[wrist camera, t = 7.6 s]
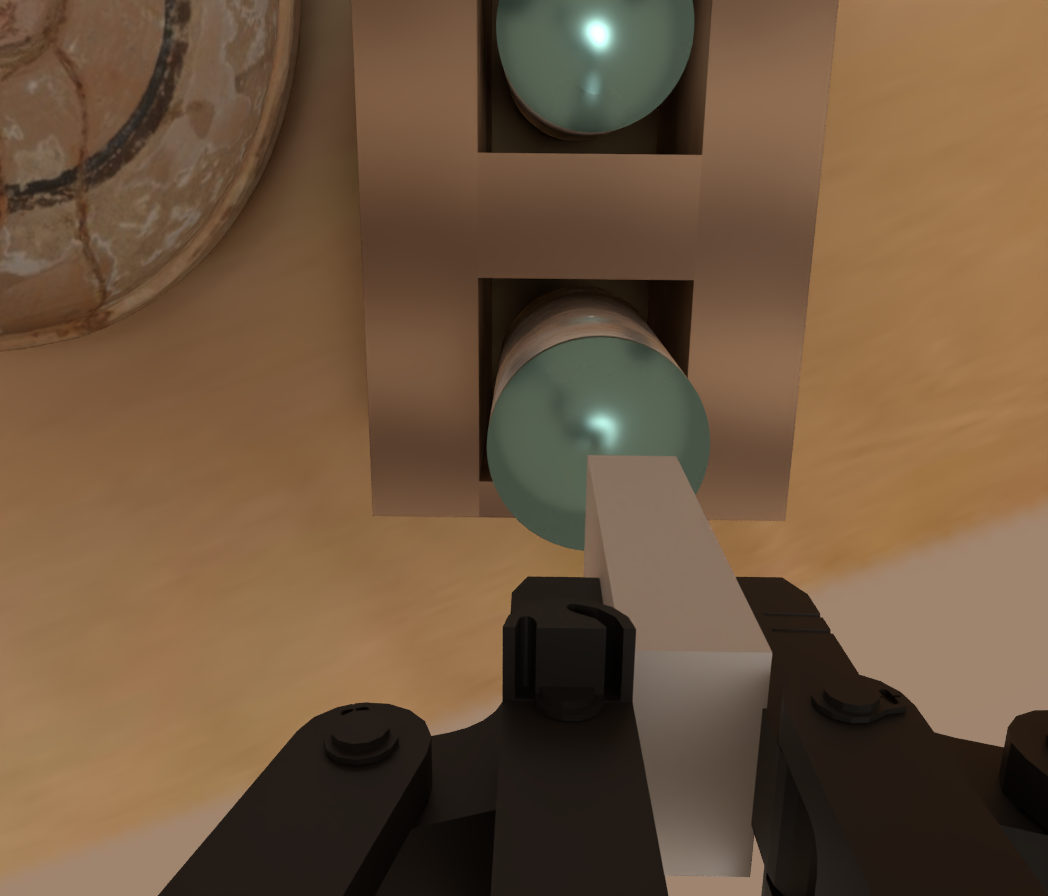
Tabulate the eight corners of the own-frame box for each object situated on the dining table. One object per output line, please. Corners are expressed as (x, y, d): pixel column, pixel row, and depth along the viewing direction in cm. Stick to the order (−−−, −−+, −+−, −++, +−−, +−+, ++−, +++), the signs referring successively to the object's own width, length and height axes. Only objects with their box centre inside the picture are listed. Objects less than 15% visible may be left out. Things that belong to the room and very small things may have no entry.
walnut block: (397, -64, 30) (344, -157, 21) (761, -61, 30) (854, -152, 21) (411, 429, 35) (372, 515, 26) (722, 433, 35) (785, 520, 26)
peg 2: (499, 285, 27) (486, 336, 19) (661, 286, 27) (718, 339, 19) (499, 439, 28) (486, 549, 20) (653, 441, 28) (702, 552, 20)
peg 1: (505, -17, 29) (496, -86, 21) (654, -15, 29) (701, -84, 21) (505, 140, 31) (496, 131, 23) (646, 142, 31) (688, 133, 23)
